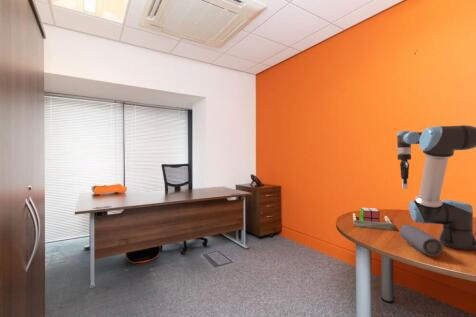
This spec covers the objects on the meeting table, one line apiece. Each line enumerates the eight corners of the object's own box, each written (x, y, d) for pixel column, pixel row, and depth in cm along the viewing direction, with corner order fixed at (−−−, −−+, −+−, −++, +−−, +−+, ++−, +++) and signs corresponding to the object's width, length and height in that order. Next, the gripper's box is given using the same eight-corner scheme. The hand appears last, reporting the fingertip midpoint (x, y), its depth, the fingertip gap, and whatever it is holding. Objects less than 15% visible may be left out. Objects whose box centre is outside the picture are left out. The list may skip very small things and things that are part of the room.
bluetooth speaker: (444, 259, 106) (444, 237, 106) (421, 258, 108) (421, 236, 108) (417, 242, 128) (417, 224, 128) (398, 241, 130) (398, 223, 130)
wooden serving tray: (394, 230, 149) (394, 224, 149) (354, 226, 158) (354, 220, 158) (386, 219, 176) (386, 213, 176) (352, 216, 186) (352, 211, 186)
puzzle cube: (379, 225, 159) (379, 211, 159) (363, 224, 162) (363, 210, 162) (375, 222, 169) (375, 208, 169) (360, 221, 172) (360, 207, 172)
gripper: (395, 154, 166) (396, 187, 166) (400, 153, 154) (400, 189, 154) (408, 154, 163) (408, 187, 163) (413, 153, 151) (414, 189, 151)
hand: (404, 188), depth 158 cm, fingers closed
